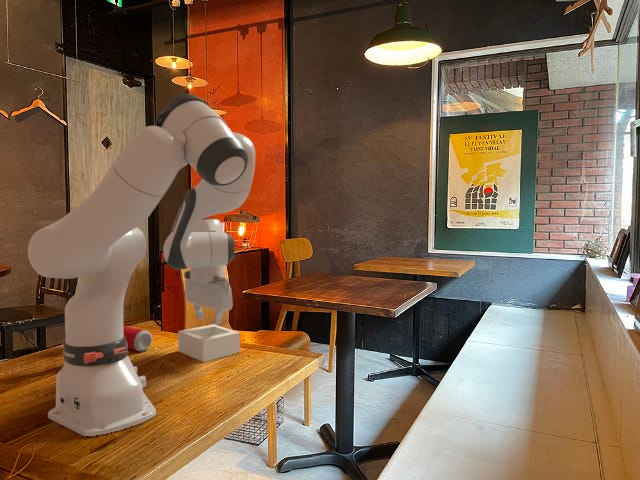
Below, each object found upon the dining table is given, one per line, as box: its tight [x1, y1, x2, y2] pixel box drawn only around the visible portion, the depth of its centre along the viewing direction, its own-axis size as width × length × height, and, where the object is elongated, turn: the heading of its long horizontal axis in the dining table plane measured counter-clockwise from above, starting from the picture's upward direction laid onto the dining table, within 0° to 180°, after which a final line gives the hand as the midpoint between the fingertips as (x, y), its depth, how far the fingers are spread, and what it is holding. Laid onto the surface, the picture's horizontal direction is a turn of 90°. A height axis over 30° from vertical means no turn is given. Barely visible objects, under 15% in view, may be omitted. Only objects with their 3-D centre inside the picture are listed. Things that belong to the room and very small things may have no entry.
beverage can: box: [123, 325, 153, 353], centre depth 140 cm, size 6×6×12 cm
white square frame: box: [177, 323, 241, 363], centre depth 137 cm, size 14×12×6 cm
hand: (208, 321), depth 137 cm, fingers open, 8 cm apart
